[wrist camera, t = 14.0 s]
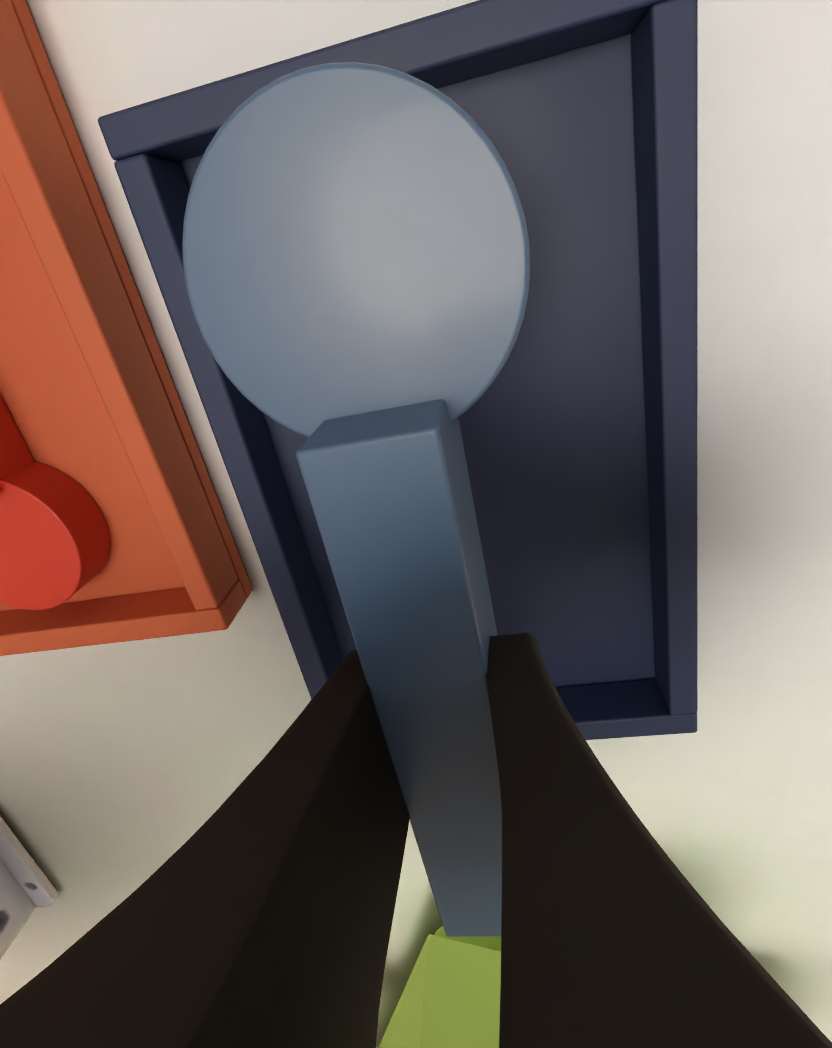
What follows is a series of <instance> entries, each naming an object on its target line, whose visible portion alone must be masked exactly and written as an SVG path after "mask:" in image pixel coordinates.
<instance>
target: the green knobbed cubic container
mask: <svg viewBox="0 0 832 1048" xmlns="http://www.w3.org/2000/svg"><path fill="white" fill-rule="evenodd" d="M500 987H501V936H487V937H448V936H446V934H445V931H444V927H443V926H441V927H440V928H439V929H438V930H437V931H436V932H435V934H434V935H431V934H429V935H428V937H427V939H426V941H425V943H424V946H423V948H422V950H421V952H420V954H419V957H418V959H417V961H416V964H415V966H414V968H413V970H412V973H411V975H410V977H409V979H408V982H407V984H406V986H405V988H404V991H403V993H402V995H401V997H400V1000H399V1002H398V1004H397V1007H396V1009H395V1011H394V1013H393V1016H392V1018H391V1020H390V1022H389V1025H388V1027H387V1029H386V1031H385V1034H384V1036H383V1038H382V1041H381V1043H380V1045H379V1047H378V1048H499V1026H500Z"/></svg>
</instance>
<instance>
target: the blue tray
mask: <svg viewBox="0 0 832 1048" xmlns="http://www.w3.org/2000/svg"><path fill="white" fill-rule="evenodd" d="M342 62H358V63H366V64H374V65H381V66H384V67H388V68H391V69H394V70H398V71H401V72H405V73H407V74H409V75H411V76H413V77H415V78H417V79H420V80H422V81H424V82H426V83H428V84H430V85H431V86H433V87H434V88H436V89H437V90H439V91H440V92H442V93H443V94H445V95H446V96H448V97H449V98H451V99H452V100H453V101H454V102H455V103H457V104H458V105H459V106H460V107H461V108H462V109H463V110H464V111H465V112H466V113H467V114H469V115H470V116H471V117H472V118H473V119H474V120H475V122H476V123H477V124H478V125H479V127H480V128H481V129H482V130H483V131H484V133H485V134H486V135H487V136H488V137H489V139H490V140H491V141H492V143H493V145H494V146H495V148H496V150H497V151H498V153H499V154H500V156H501V158H502V159H503V161H504V162H505V164H506V167H507V169H508V171H509V173H510V175H511V178H512V180H513V182H514V184H515V186H516V189H517V192H518V195H519V198H520V202H521V205H522V208H523V212H524V215H525V221H526V226H527V232H528V238H529V249H530V281H529V294H528V299H527V304H526V309H525V314H524V319H523V322H522V325H521V328H520V331H519V334H518V337H517V340H516V342H515V344H514V347H513V349H512V351H511V353H510V355H509V357H508V359H507V361H506V363H505V365H504V366H503V368H502V369H501V371H500V373H499V374H498V376H497V377H496V379H495V381H494V382H493V383H492V384H491V385H490V387H489V388H488V389H487V390H486V392H485V393H484V394H483V395H482V396H481V398H480V399H478V400H477V401H476V402H475V403H474V404H473V405H472V406H471V407H470V408H469V409H468V410H467V411H466V412H465V413H463V414H462V415H460V416H459V417H458V419H459V424H460V430H461V435H462V441H463V446H464V452H465V457H466V463H467V469H468V474H469V480H470V485H471V491H472V496H473V502H474V507H475V513H476V518H477V524H478V529H479V535H480V541H481V546H482V552H483V557H484V563H485V568H486V574H487V579H488V585H489V590H490V596H491V601H492V607H493V613H494V618H495V624H496V629H497V635H506V634H515V633H525V632H529V633H530V634H531V635H533V636H534V637H536V638H537V644H538V647H539V650H540V654H541V657H542V659H543V662H544V664H545V666H546V669H547V671H548V673H549V676H550V678H551V680H552V682H553V684H554V686H555V688H556V690H557V692H558V694H559V696H560V698H561V699H562V701H563V703H564V705H565V707H566V709H567V710H568V712H569V714H570V715H571V717H572V719H573V720H574V722H575V724H576V725H577V727H578V729H579V730H580V732H581V734H582V735H583V737H584V739H585V740H592V739H607V738H621V737H635V736H650V735H664V734H679V733H693V732H696V731H697V0H479V1H475V2H472V3H469V4H466V5H462V6H459V7H456V8H453V9H449V10H446V11H443V12H440V13H436V14H433V15H430V16H427V17H423V18H420V19H417V20H414V21H410V22H407V23H404V24H401V25H397V26H394V27H391V28H388V29H384V30H381V31H378V32H375V33H371V34H368V35H365V36H362V37H358V38H355V39H352V40H349V41H345V42H342V43H339V44H336V45H332V46H329V47H326V48H323V49H319V50H316V51H313V52H310V53H306V54H303V55H300V56H297V57H293V58H290V59H287V60H284V61H280V62H277V63H274V64H271V65H267V66H264V67H261V68H258V69H254V70H251V71H248V72H245V73H241V74H238V75H235V76H232V77H228V78H225V79H222V80H219V81H215V82H212V83H209V84H206V85H202V86H199V87H196V88H193V89H189V90H186V91H183V92H180V93H176V94H173V95H170V96H167V97H163V98H160V99H157V100H154V101H150V102H147V103H144V104H141V105H137V106H134V107H131V108H128V109H124V110H121V111H118V112H115V113H111V114H108V115H105V116H102V117H100V118H99V119H98V123H99V125H100V128H101V131H102V133H103V136H104V139H105V142H106V144H107V147H108V150H109V152H110V155H111V157H112V158H113V159H114V160H117V161H116V162H115V168H116V171H117V174H118V176H119V179H120V182H121V184H122V187H123V190H124V193H125V195H126V198H127V201H128V203H129V206H130V209H131V212H132V214H133V217H134V220H135V222H136V225H137V228H138V230H139V233H140V236H141V239H142V241H143V244H144V247H145V249H146V252H147V255H148V258H149V260H150V263H151V266H152V268H153V271H154V274H155V277H156V279H157V282H158V285H159V287H160V290H161V293H162V295H163V298H164V301H165V304H166V306H167V309H168V312H169V314H170V317H171V320H172V323H173V325H174V328H175V331H176V333H177V336H178V339H179V342H180V344H181V347H182V350H183V352H184V355H185V358H186V360H187V363H188V366H189V369H190V371H191V374H192V377H193V379H194V382H195V385H196V388H197V390H198V393H199V396H200V398H201V401H202V404H203V406H204V409H205V412H206V415H207V417H208V420H209V423H210V425H211V428H212V431H213V434H214V436H215V439H216V442H217V444H218V447H219V450H220V453H221V455H222V458H223V461H224V463H225V466H226V469H227V471H228V474H229V477H230V480H231V482H232V485H233V488H234V490H235V493H236V496H237V499H238V501H239V504H240V507H241V509H242V512H243V515H244V517H245V520H246V523H247V526H248V528H249V531H250V534H251V536H252V539H253V542H254V545H255V547H256V550H257V553H258V555H259V558H260V561H261V564H262V566H263V569H264V572H265V574H266V577H267V580H268V582H269V585H270V588H271V591H272V593H273V596H274V599H275V601H276V604H277V607H278V610H279V612H280V615H281V618H282V620H283V623H284V626H285V629H286V631H287V634H288V637H289V639H290V642H291V645H292V647H293V650H294V653H295V656H296V658H297V661H298V664H299V666H300V669H301V672H302V675H303V677H304V680H305V683H306V685H307V688H308V691H309V693H310V696H311V699H313V698H314V696H315V695H316V694H317V693H318V691H319V690H320V689H321V687H322V686H323V685H324V684H325V682H326V681H327V680H328V679H329V677H330V676H331V675H332V674H333V672H334V671H335V670H336V669H337V667H338V666H339V665H340V664H341V662H342V661H343V660H344V659H345V657H346V656H347V655H348V654H349V653H350V651H351V650H357V649H356V645H355V642H354V639H353V636H352V633H351V629H350V626H349V623H348V620H347V617H346V613H345V610H344V607H343V604H342V601H341V597H340V594H339V591H338V588H337V585H336V581H335V578H334V575H333V572H332V569H331V565H330V562H329V559H328V556H327V553H326V549H325V546H324V543H323V540H322V536H321V533H320V530H319V527H318V524H317V520H316V517H315V514H314V511H313V508H312V504H311V501H310V498H309V495H308V492H307V488H306V485H305V482H304V479H303V476H302V472H301V469H300V466H299V463H298V460H297V456H296V452H297V451H298V449H299V448H300V447H301V446H302V445H303V444H304V443H305V441H306V440H307V439H308V438H309V437H306V436H304V435H301V434H299V433H297V432H294V431H292V430H290V429H289V428H287V427H285V426H283V425H282V424H280V423H278V422H276V421H275V420H273V419H272V418H270V417H269V416H268V415H266V414H265V413H264V412H262V411H261V410H259V409H258V408H257V407H256V406H255V405H254V404H253V403H251V402H250V401H249V400H248V399H247V398H246V397H245V396H244V395H243V394H242V393H241V392H240V391H239V390H238V389H237V388H236V386H235V385H234V384H233V383H232V382H231V381H230V380H229V378H228V377H227V376H226V374H225V373H224V372H223V370H222V369H221V367H220V366H219V364H218V363H217V362H216V360H215V359H214V357H213V355H212V353H211V351H210V349H209V348H208V346H207V344H206V342H205V340H204V338H203V336H202V334H201V331H200V329H199V326H198V324H197V322H196V319H195V317H194V313H193V310H192V306H191V303H190V299H189V296H188V291H187V286H186V280H185V274H184V265H183V248H182V243H183V225H184V217H185V211H186V205H187V200H188V195H189V192H190V189H191V185H192V182H193V179H194V176H195V173H196V170H197V168H198V166H199V164H200V162H201V160H202V157H203V155H204V153H205V151H206V149H207V147H208V145H209V144H210V142H211V141H212V139H213V138H214V136H215V135H216V133H217V132H218V130H219V128H220V127H221V126H222V125H223V123H224V122H225V121H226V120H227V119H228V118H229V117H230V115H231V114H232V113H233V112H234V111H235V110H236V109H237V107H239V106H240V105H241V104H242V103H243V102H245V101H246V100H247V99H248V98H249V97H250V96H252V95H253V94H254V93H255V92H256V91H258V90H260V89H261V88H263V87H265V86H266V85H268V84H270V83H271V82H273V81H275V80H276V79H278V78H280V77H282V76H285V75H287V74H290V73H292V72H295V71H298V70H300V69H303V68H307V67H312V66H317V65H321V64H326V63H342Z"/></svg>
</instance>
